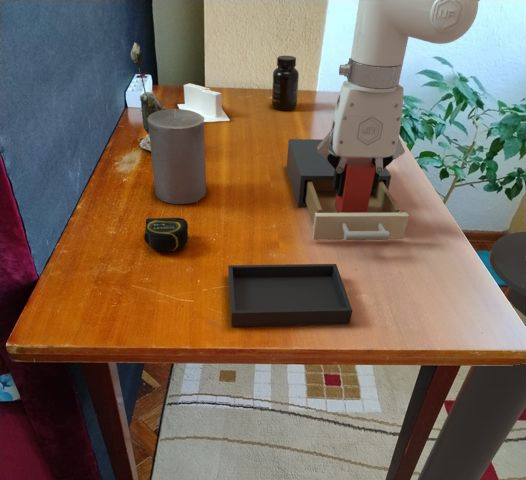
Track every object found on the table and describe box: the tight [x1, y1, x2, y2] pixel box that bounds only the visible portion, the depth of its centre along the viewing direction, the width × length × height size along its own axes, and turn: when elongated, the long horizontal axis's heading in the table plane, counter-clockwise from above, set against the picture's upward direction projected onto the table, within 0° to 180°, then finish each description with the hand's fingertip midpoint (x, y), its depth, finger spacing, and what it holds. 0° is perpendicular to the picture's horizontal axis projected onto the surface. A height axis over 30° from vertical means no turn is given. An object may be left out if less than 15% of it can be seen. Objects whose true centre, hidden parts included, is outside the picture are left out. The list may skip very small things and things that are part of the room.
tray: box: [227, 263, 354, 328], centre depth 69 cm, size 16×11×2 cm
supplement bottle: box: [271, 55, 300, 112], centre depth 129 cm, size 7×7×12 cm
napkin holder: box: [177, 82, 231, 123], centre depth 126 cm, size 15×11×6 cm
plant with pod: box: [130, 42, 167, 152], centre depth 102 cm, size 8×11×20 cm
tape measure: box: [143, 217, 189, 252], centre depth 78 cm, size 7×7×4 cm
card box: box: [335, 158, 376, 213], centre depth 83 cm, size 4×5×9 cm
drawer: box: [304, 180, 410, 241], centre depth 85 cm, size 21×15×4 cm
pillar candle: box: [148, 108, 207, 205], centre depth 88 cm, size 10×10×15 cm
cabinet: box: [286, 138, 392, 208], centre depth 96 cm, size 18×17×6 cm
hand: (353, 191), depth 84 cm, fingers closed on card box, 4 cm apart
